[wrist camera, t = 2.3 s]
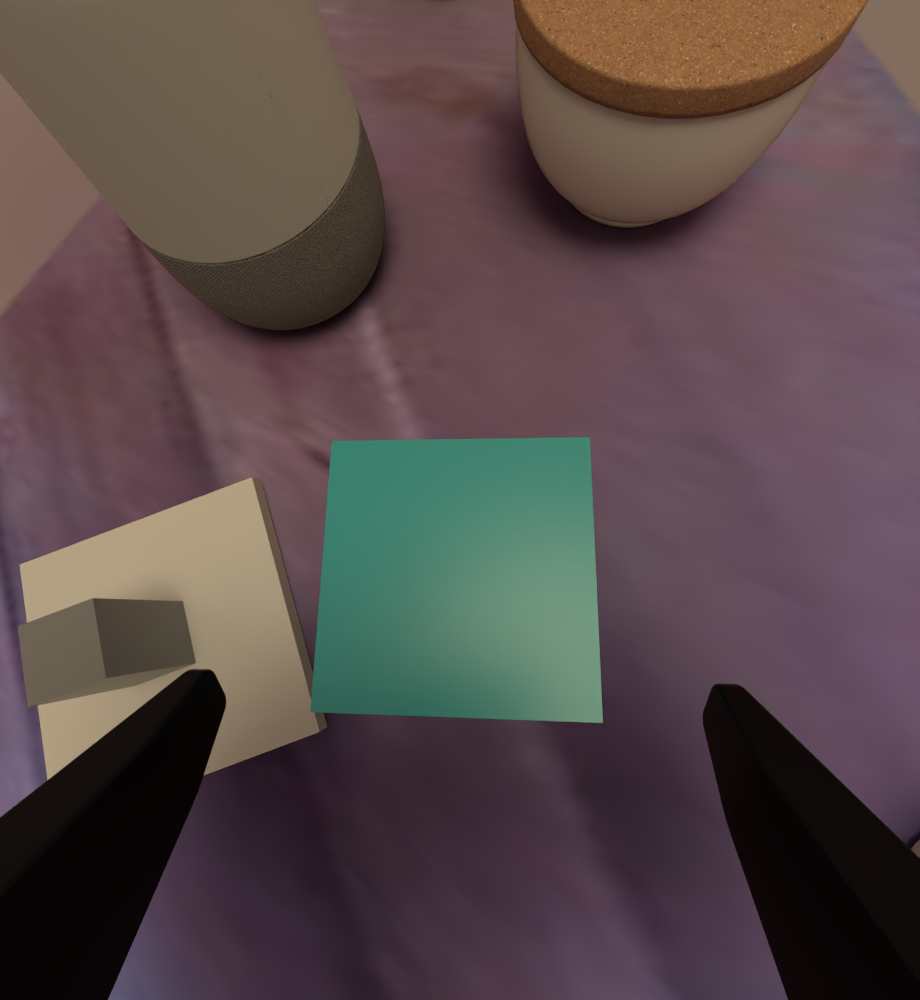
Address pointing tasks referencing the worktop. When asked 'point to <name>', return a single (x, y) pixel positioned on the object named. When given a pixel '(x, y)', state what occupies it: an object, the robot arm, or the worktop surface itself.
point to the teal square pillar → (459, 581)
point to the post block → (168, 627)
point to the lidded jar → (664, 94)
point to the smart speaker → (212, 142)
